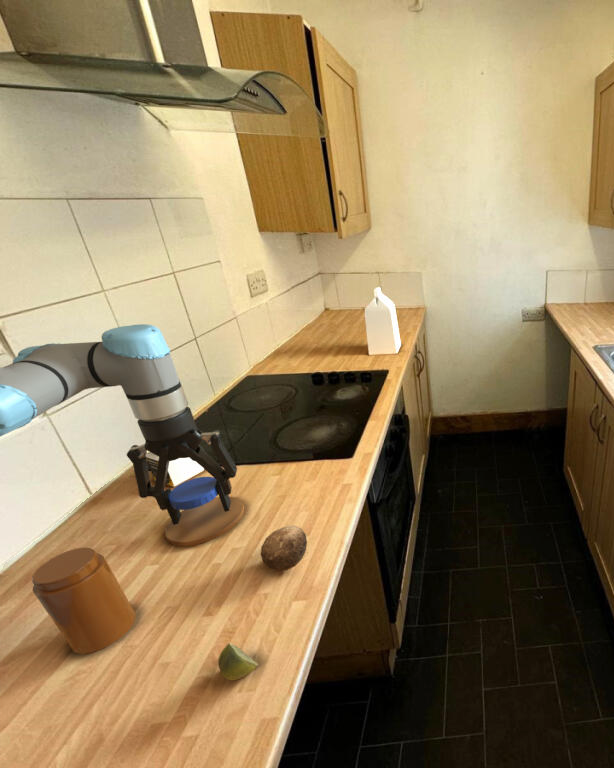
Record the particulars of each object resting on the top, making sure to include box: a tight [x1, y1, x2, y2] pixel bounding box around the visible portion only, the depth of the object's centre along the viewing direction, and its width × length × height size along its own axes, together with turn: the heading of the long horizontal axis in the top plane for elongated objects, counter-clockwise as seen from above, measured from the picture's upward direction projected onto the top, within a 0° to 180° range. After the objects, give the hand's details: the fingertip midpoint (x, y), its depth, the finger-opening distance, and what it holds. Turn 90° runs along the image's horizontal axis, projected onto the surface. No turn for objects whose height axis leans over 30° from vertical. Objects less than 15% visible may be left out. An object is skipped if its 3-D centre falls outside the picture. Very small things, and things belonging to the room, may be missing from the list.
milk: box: [364, 286, 402, 356], centre depth 173 cm, size 12×12×26 cm
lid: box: [169, 476, 219, 511], centre depth 81 cm, size 8×8×2 cm
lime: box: [217, 642, 259, 681], centre depth 56 cm, size 4×5×5 cm
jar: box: [31, 546, 137, 655], centre depth 60 cm, size 7×7×14 cm
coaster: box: [164, 496, 245, 547], centre depth 84 cm, size 13×13×1 cm
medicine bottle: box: [146, 451, 205, 488], centre depth 95 cm, size 7×7×12 cm
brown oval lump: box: [260, 524, 308, 572], centre depth 74 cm, size 8×8×6 cm
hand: (203, 513), depth 83 cm, fingers closed on lid, 8 cm apart
